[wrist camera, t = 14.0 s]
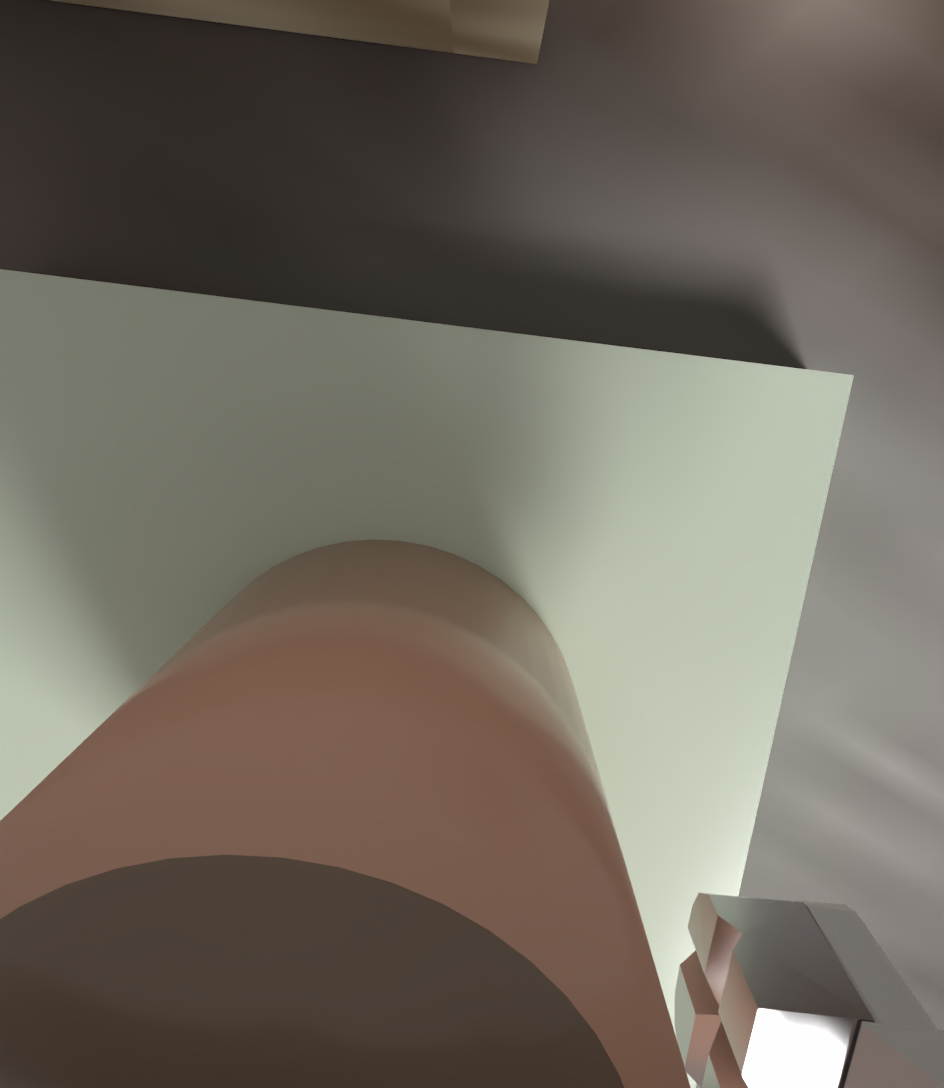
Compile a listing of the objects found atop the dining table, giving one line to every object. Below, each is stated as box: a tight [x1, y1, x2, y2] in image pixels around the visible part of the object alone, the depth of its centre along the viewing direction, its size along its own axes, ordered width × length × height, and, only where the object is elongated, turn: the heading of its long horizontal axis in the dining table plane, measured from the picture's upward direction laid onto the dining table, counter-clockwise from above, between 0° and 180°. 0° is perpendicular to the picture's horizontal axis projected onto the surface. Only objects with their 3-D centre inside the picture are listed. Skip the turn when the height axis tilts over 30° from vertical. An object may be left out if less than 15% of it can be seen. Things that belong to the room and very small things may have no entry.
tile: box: [0, 269, 854, 1088], centre depth 13 cm, size 12×12×2 cm
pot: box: [0, 539, 691, 1088], centre depth 9 cm, size 6×6×7 cm
